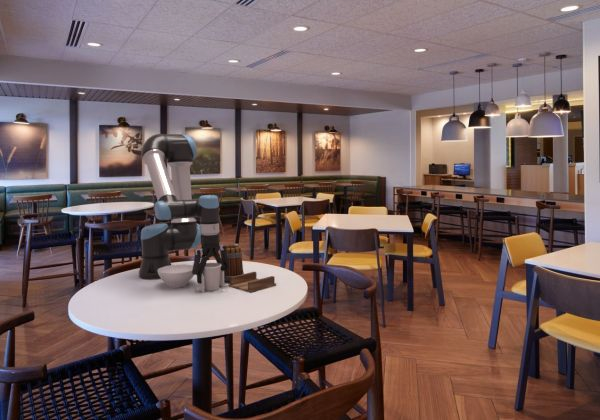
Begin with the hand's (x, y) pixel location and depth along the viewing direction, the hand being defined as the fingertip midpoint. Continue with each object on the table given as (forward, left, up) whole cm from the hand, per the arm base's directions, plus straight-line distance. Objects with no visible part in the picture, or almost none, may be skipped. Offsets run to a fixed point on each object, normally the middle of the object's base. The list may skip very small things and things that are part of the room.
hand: (211, 288), depth 179 cm
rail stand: (+9, +14, 0) cm, 17 cm away
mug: (-6, +16, 0) cm, 17 cm away
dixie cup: (0, 0, 0) cm, 0 cm away
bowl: (-16, -6, 0) cm, 17 cm away
